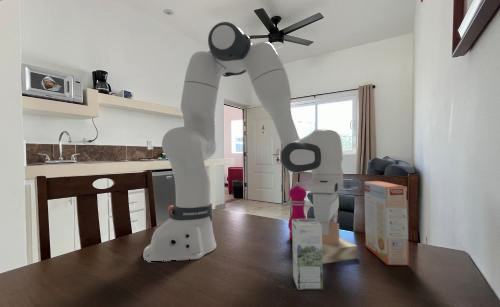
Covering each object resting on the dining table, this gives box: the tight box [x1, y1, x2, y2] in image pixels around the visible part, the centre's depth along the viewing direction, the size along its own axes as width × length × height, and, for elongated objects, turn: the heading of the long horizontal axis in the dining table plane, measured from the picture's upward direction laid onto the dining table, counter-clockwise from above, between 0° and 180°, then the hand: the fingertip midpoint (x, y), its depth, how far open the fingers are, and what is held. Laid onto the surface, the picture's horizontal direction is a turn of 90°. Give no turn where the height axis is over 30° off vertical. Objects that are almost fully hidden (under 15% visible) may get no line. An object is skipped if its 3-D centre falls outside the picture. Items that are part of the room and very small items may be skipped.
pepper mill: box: [287, 181, 308, 240], centre depth 87 cm, size 7×7×20 cm
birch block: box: [322, 236, 359, 265], centre depth 73 cm, size 11×11×4 cm
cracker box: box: [363, 180, 410, 266], centre depth 71 cm, size 14×6×21 cm, turn 176°
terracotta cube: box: [322, 222, 340, 245], centre depth 73 cm, size 5×5×5 cm
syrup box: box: [291, 217, 324, 291], centre depth 56 cm, size 6×6×14 cm
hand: (328, 229), depth 73 cm, fingers open, 8 cm apart
